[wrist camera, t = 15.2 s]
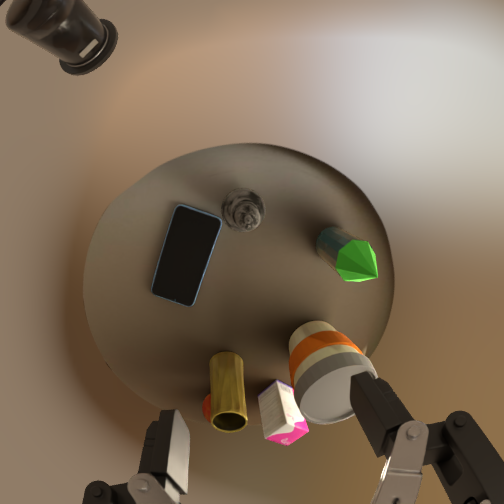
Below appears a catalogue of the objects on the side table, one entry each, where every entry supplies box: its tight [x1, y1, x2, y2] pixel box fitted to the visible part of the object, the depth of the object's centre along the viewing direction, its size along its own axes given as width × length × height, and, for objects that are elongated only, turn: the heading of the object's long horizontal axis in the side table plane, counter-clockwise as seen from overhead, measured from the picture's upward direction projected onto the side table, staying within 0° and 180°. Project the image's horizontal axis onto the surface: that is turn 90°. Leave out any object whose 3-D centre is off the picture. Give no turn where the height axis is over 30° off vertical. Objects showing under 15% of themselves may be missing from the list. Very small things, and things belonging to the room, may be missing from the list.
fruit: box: [202, 393, 211, 423], centre depth 46 cm, size 7×7×8 cm
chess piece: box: [222, 188, 266, 232], centre depth 35 cm, size 6×6×12 cm
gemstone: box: [335, 240, 378, 282], centre depth 32 cm, size 6×6×6 cm
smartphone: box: [151, 204, 222, 307], centre depth 41 cm, size 7×1×15 cm
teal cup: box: [316, 227, 373, 275], centre depth 39 cm, size 6×6×9 cm
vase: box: [209, 352, 247, 433], centre depth 41 cm, size 6×6×14 cm
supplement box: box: [258, 379, 309, 446], centre depth 46 cm, size 6×6×12 cm
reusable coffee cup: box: [289, 321, 378, 424], centre depth 41 cm, size 13×12×15 cm
